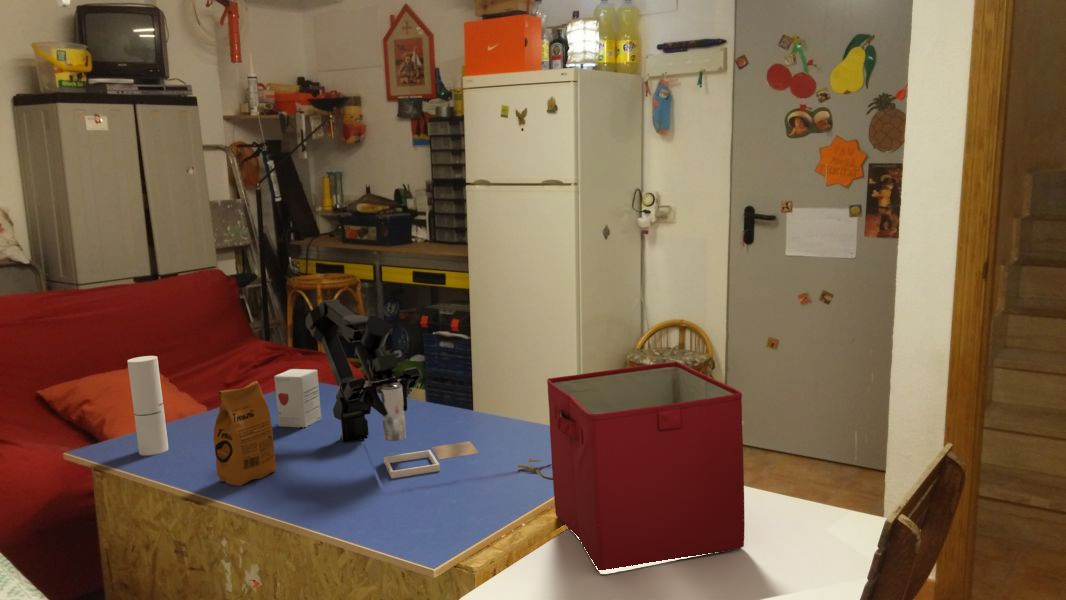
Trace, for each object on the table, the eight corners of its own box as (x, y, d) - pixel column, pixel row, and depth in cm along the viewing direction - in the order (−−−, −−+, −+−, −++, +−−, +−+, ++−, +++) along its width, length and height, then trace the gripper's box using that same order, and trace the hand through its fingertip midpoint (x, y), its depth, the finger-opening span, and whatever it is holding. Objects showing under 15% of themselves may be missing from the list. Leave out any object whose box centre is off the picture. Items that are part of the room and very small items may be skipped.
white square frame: (391, 482, 187) (390, 472, 187) (384, 466, 198) (383, 456, 198) (440, 474, 191) (439, 464, 190) (430, 459, 201) (430, 449, 201)
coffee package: (211, 481, 194) (201, 390, 191) (256, 464, 204) (247, 378, 201) (236, 488, 189) (226, 395, 185) (282, 471, 198) (273, 382, 195)
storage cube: (589, 581, 138) (581, 414, 133) (543, 518, 164) (536, 376, 160) (761, 549, 146) (759, 391, 142) (691, 494, 172) (688, 358, 168)
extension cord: (549, 457, 200) (548, 449, 200) (599, 471, 189) (598, 463, 189) (513, 472, 192) (512, 464, 191) (563, 488, 181) (562, 479, 180)
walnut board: (439, 463, 198) (439, 459, 198) (431, 450, 208) (431, 447, 208) (479, 457, 201) (479, 453, 201) (469, 445, 211) (469, 441, 211)
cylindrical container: (173, 446, 223) (162, 355, 219) (159, 455, 215) (147, 361, 212) (148, 446, 223) (137, 356, 219) (133, 455, 216) (121, 362, 212)
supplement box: (277, 427, 235) (272, 375, 233) (295, 417, 244) (290, 368, 242) (305, 428, 233) (300, 376, 231) (322, 418, 241) (318, 368, 239)
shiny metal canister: (381, 441, 197) (377, 388, 195) (387, 434, 203) (383, 382, 200) (403, 441, 197) (398, 388, 195) (408, 434, 202) (404, 382, 200)
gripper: (344, 347, 194) (367, 402, 187) (415, 335, 205) (440, 386, 197) (334, 374, 202) (356, 427, 194) (403, 361, 212) (426, 411, 205)
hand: (395, 412), depth 198 cm, fingers closed on shiny metal canister, 5 cm apart
